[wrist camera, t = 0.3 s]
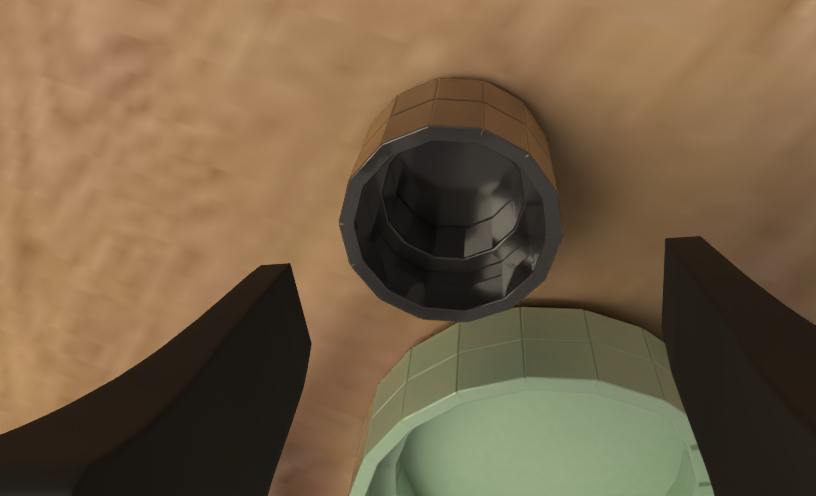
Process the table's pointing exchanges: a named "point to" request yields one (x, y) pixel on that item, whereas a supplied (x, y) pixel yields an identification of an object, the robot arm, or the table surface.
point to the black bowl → (452, 202)
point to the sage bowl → (531, 413)
